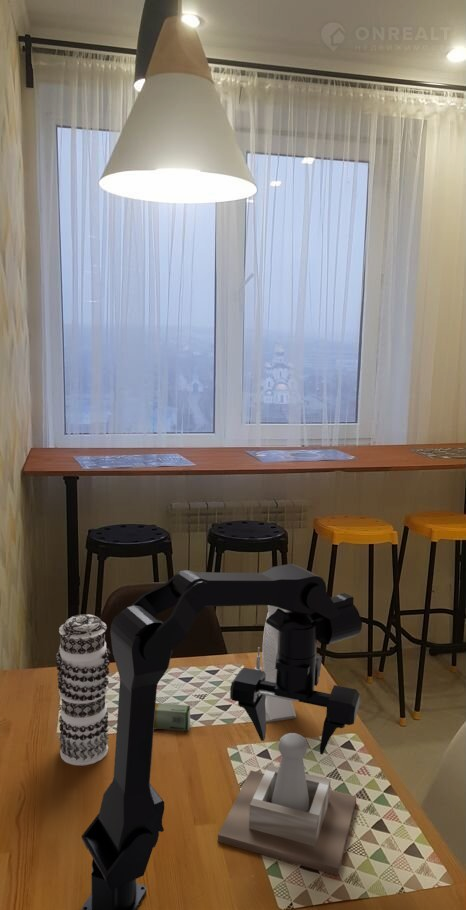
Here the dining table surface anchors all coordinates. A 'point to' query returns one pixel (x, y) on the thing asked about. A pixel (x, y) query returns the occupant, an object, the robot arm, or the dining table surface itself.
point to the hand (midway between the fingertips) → (292, 746)
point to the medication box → (172, 717)
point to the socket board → (290, 823)
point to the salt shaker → (291, 774)
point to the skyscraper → (273, 673)
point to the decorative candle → (83, 690)
